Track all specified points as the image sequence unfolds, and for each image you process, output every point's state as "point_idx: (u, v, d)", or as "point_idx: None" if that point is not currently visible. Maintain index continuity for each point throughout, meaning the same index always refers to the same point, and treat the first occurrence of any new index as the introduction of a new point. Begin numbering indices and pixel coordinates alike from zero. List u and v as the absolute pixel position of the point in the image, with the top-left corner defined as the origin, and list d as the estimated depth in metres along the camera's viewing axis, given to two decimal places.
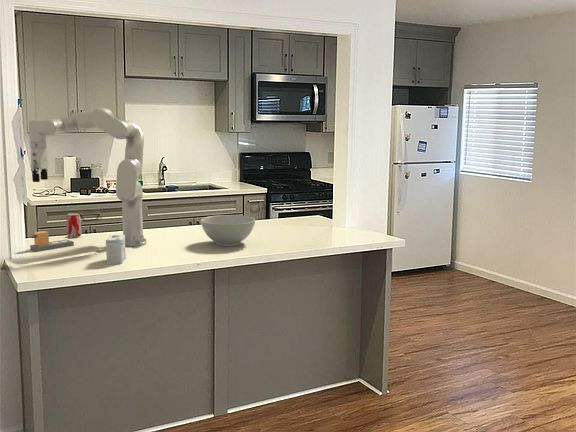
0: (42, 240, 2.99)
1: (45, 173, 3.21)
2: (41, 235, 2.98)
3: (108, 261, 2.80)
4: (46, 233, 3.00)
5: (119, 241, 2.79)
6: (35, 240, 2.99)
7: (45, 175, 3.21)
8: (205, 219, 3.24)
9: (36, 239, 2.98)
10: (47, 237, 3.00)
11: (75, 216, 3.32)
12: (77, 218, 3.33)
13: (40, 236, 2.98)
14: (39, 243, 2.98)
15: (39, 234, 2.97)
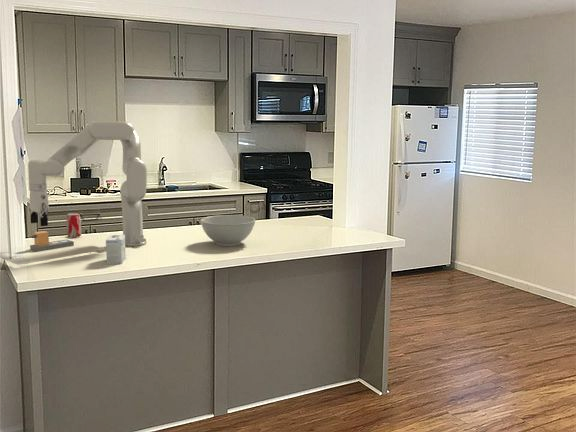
0: (42, 240, 2.99)
1: (36, 216, 3.02)
2: (41, 235, 2.98)
3: (108, 261, 2.80)
4: (46, 233, 3.00)
5: (119, 241, 2.79)
6: (35, 240, 2.99)
7: (36, 218, 3.02)
8: (205, 219, 3.24)
9: (36, 239, 2.98)
10: (47, 237, 3.00)
11: (75, 216, 3.32)
12: (77, 218, 3.33)
13: (40, 236, 2.98)
14: (39, 243, 2.98)
15: (39, 234, 2.97)
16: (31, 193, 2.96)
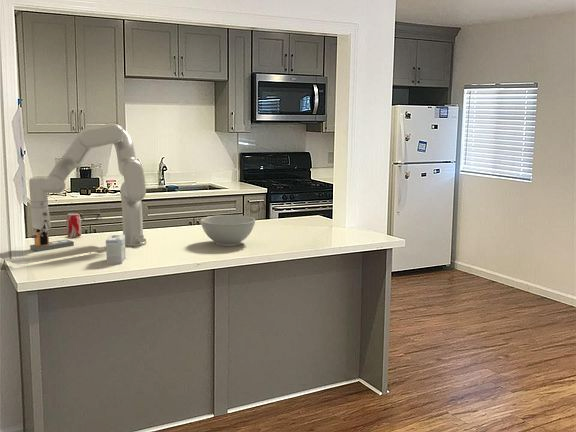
0: None
1: None
2: None
3: (108, 261, 2.80)
4: None
5: (119, 241, 2.79)
6: (35, 240, 2.99)
7: None
8: (205, 219, 3.24)
9: (36, 239, 2.98)
10: (47, 237, 3.00)
11: (75, 216, 3.32)
12: (77, 218, 3.33)
13: None
14: (39, 243, 2.98)
15: (39, 234, 2.97)
16: (33, 210, 2.97)
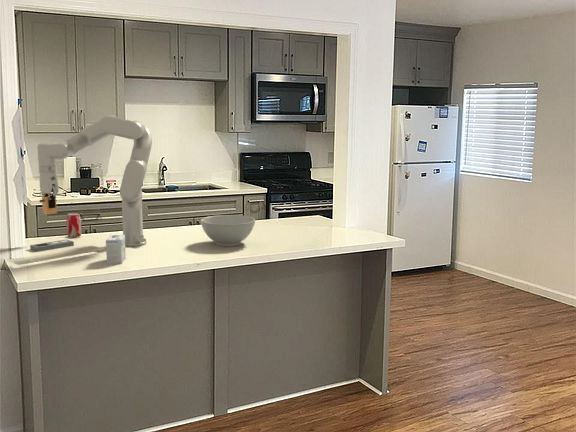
0: None
1: None
2: None
3: (108, 261, 2.80)
4: None
5: (119, 241, 2.79)
6: (43, 204, 3.10)
7: None
8: (205, 219, 3.24)
9: (44, 203, 3.09)
10: (55, 201, 3.11)
11: (75, 216, 3.32)
12: (77, 218, 3.33)
13: None
14: (47, 207, 3.08)
15: (47, 198, 3.08)
16: (41, 175, 3.08)
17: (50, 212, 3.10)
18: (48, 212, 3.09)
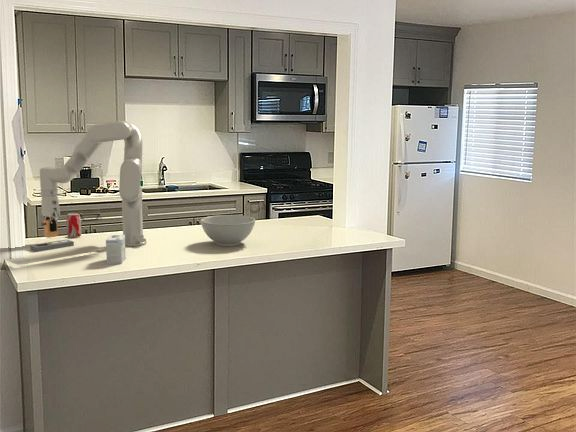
0: None
1: None
2: None
3: (108, 261, 2.80)
4: None
5: (119, 241, 2.79)
6: (44, 228, 3.12)
7: None
8: (205, 219, 3.24)
9: (45, 227, 3.12)
10: None
11: (75, 216, 3.32)
12: (77, 218, 3.33)
13: (49, 224, 3.11)
14: (48, 230, 3.11)
15: (48, 222, 3.10)
16: (43, 198, 3.11)
17: (51, 235, 3.12)
18: (49, 235, 3.12)
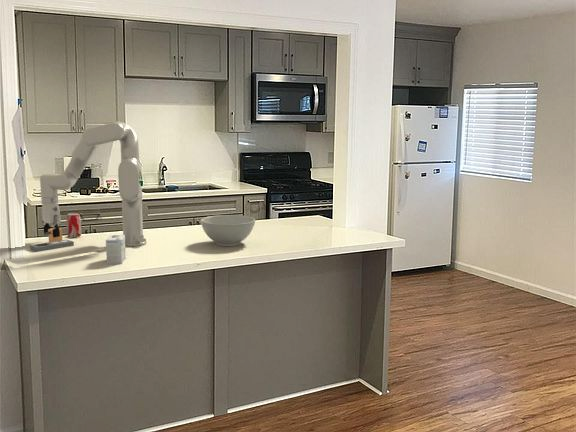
0: None
1: (49, 227, 3.17)
2: None
3: (108, 261, 2.80)
4: (60, 230, 3.15)
5: (119, 241, 2.79)
6: (49, 237, 3.15)
7: None
8: (205, 219, 3.24)
9: (50, 236, 3.14)
10: (61, 234, 3.16)
11: (75, 216, 3.32)
12: (77, 218, 3.33)
13: None
14: (53, 239, 3.13)
15: None
16: (43, 205, 3.11)
17: None
18: None
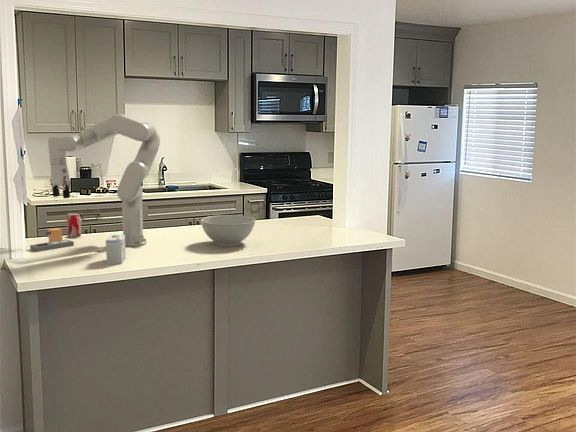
0: (56, 236, 3.14)
1: (58, 190, 3.19)
2: (55, 232, 3.13)
3: (108, 261, 2.80)
4: (60, 230, 3.15)
5: (119, 241, 2.79)
6: (49, 236, 3.15)
7: (58, 192, 3.19)
8: (205, 219, 3.24)
9: (50, 236, 3.14)
10: (61, 234, 3.16)
11: (75, 216, 3.32)
12: (77, 218, 3.33)
13: (54, 233, 3.13)
14: (53, 239, 3.13)
15: (53, 231, 3.13)
16: (52, 168, 3.13)
17: None
18: None
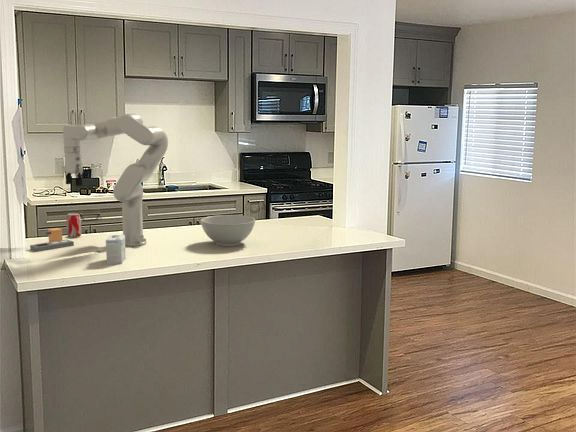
0: (56, 236, 3.14)
1: (71, 177, 3.25)
2: (55, 232, 3.13)
3: (108, 261, 2.80)
4: (60, 230, 3.15)
5: (119, 241, 2.79)
6: (49, 236, 3.15)
7: (71, 179, 3.25)
8: (205, 219, 3.24)
9: (50, 236, 3.14)
10: (61, 234, 3.16)
11: (75, 216, 3.32)
12: (77, 218, 3.33)
13: (54, 233, 3.13)
14: (53, 239, 3.13)
15: (53, 231, 3.13)
16: (66, 155, 3.19)
17: None
18: None
